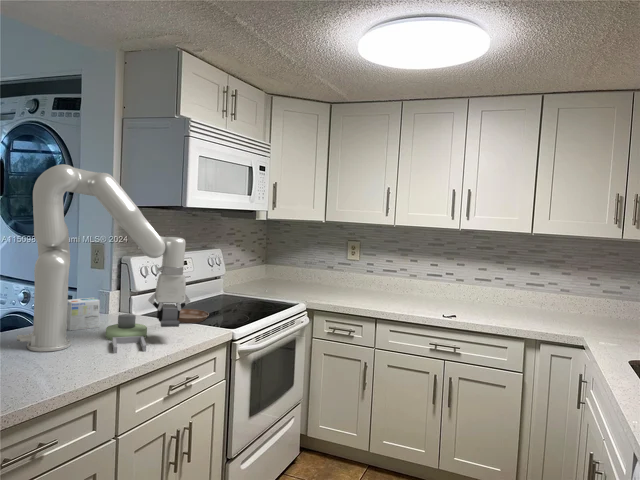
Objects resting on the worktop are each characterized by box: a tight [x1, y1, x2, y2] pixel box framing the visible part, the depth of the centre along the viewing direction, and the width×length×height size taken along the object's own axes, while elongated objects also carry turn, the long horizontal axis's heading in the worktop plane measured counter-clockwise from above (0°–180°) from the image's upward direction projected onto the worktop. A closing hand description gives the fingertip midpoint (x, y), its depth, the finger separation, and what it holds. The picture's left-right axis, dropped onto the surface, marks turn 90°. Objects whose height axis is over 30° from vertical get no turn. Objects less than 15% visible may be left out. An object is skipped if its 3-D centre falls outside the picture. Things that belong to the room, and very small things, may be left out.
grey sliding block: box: [160, 303, 180, 328], centre depth 168 cm, size 6×10×6 cm, turn 26°
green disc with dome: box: [105, 313, 148, 354], centre depth 165 cm, size 14×26×7 cm, turn 26°
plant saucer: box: [178, 308, 210, 324], centre depth 202 cm, size 18×18×3 cm
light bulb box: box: [67, 297, 101, 332], centre depth 178 cm, size 11×7×11 cm, turn 134°
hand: (167, 320), depth 169 cm, fingers closed on grey sliding block, 5 cm apart
